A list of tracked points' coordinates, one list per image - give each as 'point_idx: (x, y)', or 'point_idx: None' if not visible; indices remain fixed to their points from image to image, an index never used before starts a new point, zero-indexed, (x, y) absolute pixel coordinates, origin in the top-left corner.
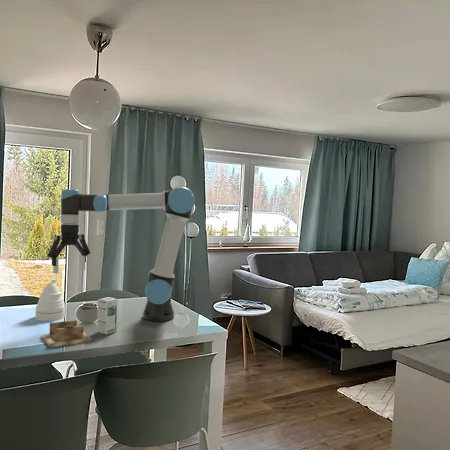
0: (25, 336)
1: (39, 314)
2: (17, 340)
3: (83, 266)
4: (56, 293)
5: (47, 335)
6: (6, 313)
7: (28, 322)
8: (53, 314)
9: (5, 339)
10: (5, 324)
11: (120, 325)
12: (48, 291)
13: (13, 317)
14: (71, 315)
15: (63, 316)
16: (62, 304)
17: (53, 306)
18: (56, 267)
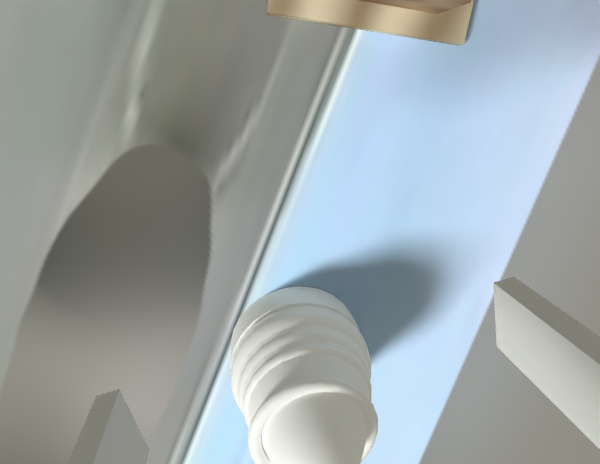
0: (499, 102)
1: (360, 332)
2: (548, 61)
3: (105, 434)
4: (300, 397)
5: (446, 14)
6: (414, 458)
7: (401, 305)
8: (309, 301)
9: (573, 106)
10: (480, 317)
11: (4, 5)
12: (349, 416)
13: (417, 398)
14: (199, 333)
15: (249, 310)
16: (256, 352)
17: (314, 329)
18: (573, 328)
